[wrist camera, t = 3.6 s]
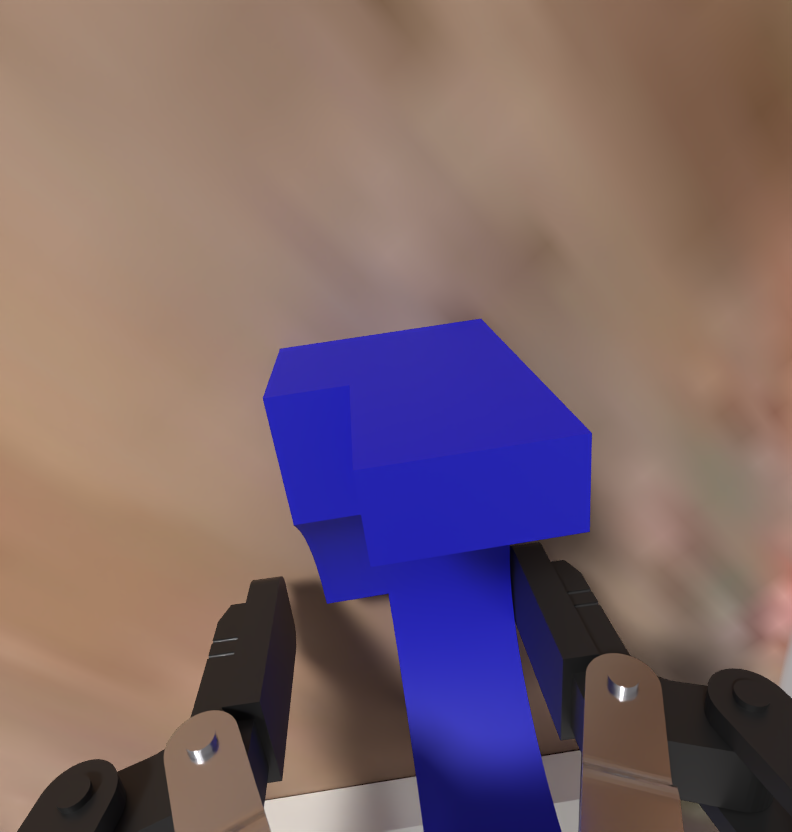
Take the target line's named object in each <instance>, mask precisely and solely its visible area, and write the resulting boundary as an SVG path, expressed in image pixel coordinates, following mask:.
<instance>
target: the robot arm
mask: <svg viewBox="0 0 792 832" xmlns="http://www.w3.org/2000/svg"><path fill="white" fill-rule="evenodd" d="M510 577H511V591H512V602H513V611H514V619H515V622H516V625H517V628H518V630H519V633H520V636H521V638H522V641H523V643H524V646H525V649H526V651H527V654H528V657H529V659H530V662H531V664H532V667H533V670H534V672H535V675H536V678H537V680H538V683H539V685H540V688H541V691H542V693H543V696H544V698H545V701H546V704H547V706H548V709H549V712H550V714H551V717H552V719H553V722H554V725H555V727H556V730H557V733H558V735H559V738H560V740H567V739H574V738H575V739H576V741H577V744H578V746H579V749H580V751H581V772H580V798H579V823H578V832H684V829H683V820H682V812H681V803H680V800H684V801H690V802H695V803H699V804H700V806H701V807H702V808H703V810H704V811H705V812H706V814H707V815H708V816H709V818H710V819H711V820H712V822H713V823H714V824H715V826H716V827H717V828H718V830H719V831H720V832H792V698H791V697H790V696H789V695H787V694H786V693H785V692H784V691H783V690H782V689H781V688H780V687H779V686H777V685H776V684H775V683H773V682H772V681H770V680H769V679H767V678H765V677H763V676H761V675H759V674H756V673H754V672H751V671H747V670H742V669H724V670H721V671H718V672H716V673H715V674H714V675H712V677H711V678H710V680H709V682H708V686H704V685H696V684H689V683H682V682H675V681H670V680H667V679H663V678H660V677H658V676H657V675H656V674H655V673H654V671H653V670H652V669H651V668H650V667H648V666H647V665H646V664H645V663H643V662H642V661H640V660H638V659H636V658H634V657H631V656H630V654H629V653H628V651H627V650H626V648H625V646H624V645H623V643H622V641H621V640H620V638H619V636H618V635H617V633H616V631H615V630H614V628H613V626H612V624H611V623H610V621H609V619H608V618H607V616H606V614H605V613H604V611H603V609H602V608H601V606H600V605H598V601H597V599H596V598H595V596H594V594H593V593H592V592H591V591H590V588H589V586H588V584H587V582H586V581H585V579H584V577H583V576H582V574H581V573H580V572H579V571H578V570H576V569H575V568H574V567H573V566H571V565H570V564H569V563H567V562H566V561H565V560H562V561H554V562H550V560H549V558H548V556H547V554H546V553H545V551H544V549H543V547H542V545H541V544H540V543H539V542H537V543H530V544H523V545H515V546H510ZM295 654H296V631H295V624H294V619H293V615H292V610H291V606H290V602H289V597H288V593H287V589H286V584H285V581H284V578H283V577H282V576H281V577H274V578H267V579H259V580H253V581H252V582H251V584H250V588H249V592H248V596H247V601H246V603H242V604H235V605H231V606H230V607H229V609H228V610H227V611H226V613H225V614H224V615H223V616H222V618H221V619H220V620H219V622H218V624H217V628H216V631H215V635H214V638H213V644H212V645H211V649H210V652H209V659H207V663H206V666H205V670H204V673H203V677H202V680H201V684H200V687H199V691H198V694H197V697H196V701H195V704H194V708H193V711H192V715H191V717H190V718H189V719H188V720H187V721H185V722H184V723H183V724H181V725H180V726H179V727H178V728H177V729H176V731H175V732H174V733H173V734H172V736H171V737H170V739H169V741H168V743H167V745H166V748H165V749H164V750H162V751H161V752H159V753H158V754H156V755H154V756H152V757H150V758H148V759H145V760H143V761H141V762H139V763H136V764H134V765H132V766H130V767H127V768H125V769H123V770H120V771H118V772H117V771H116V768H115V767H114V766H113V764H111V763H110V762H108V761H105V760H100V759H95V760H89V761H85V762H82V763H79V764H77V765H75V766H73V767H71V768H69V769H68V770H66V771H65V772H63V773H62V774H61V775H59V776H58V777H57V778H56V779H55V780H54V781H52V782H51V783H50V785H49V786H48V787H47V788H46V789H45V790H44V792H43V793H42V794H41V796H40V797H39V799H38V800H37V802H36V803H35V805H34V807H33V808H32V810H31V811H30V813H29V814H28V816H27V817H26V819H25V820H24V822H23V823H22V825H21V826H20V828H19V830H18V831H17V832H271V830H270V826H269V823H268V820H267V817H266V813H265V810H264V803H265V795H266V788H267V783H271V782H277V781H282V777H283V768H284V758H285V749H286V739H287V730H288V720H289V711H290V702H291V692H292V683H293V673H294V664H295Z"/></svg>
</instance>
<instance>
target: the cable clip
mask: <svg viewBox="0 0 792 832" xmlns="http://www.w3.org/2000/svg"><path fill="white" fill-rule="evenodd" d="M263 401H264V405H265V409H266V413H267V417H268V421H269V425H270V430H271V434H272V438H273V442H274V446H275V450H276V454H277V458H278V462H279V466H280V470H281V474H282V479H283V483H284V487H285V491H286V495H287V499H288V503H289V507H290V511H291V515H292V519H293V523H294V526H296V527H297V528H298V529H299V530H300V532H301V533H302V535H303V536H304V538H305V539H306V541H307V543H308V545H309V547H310V550H311V552H312V555H313V557H314V560H315V563H316V566H317V569H318V572H319V576H320V579H321V582H322V586H323V590H324V594H325V598H326V602H327V604H328V603H334V602H340V601H346V600H352V599H359V598H365V597H371V596H377V595H383V594H389V600H390V606H391V612H392V618H393V624H394V630H395V637H396V643H397V649H398V656H399V662H400V669H401V675H402V682H403V689H404V695H405V702H406V709H407V716H408V723H409V730H410V737H411V744H412V751H413V758H414V765H415V772H416V779H417V786H418V794H419V801H420V808H421V816H422V823H423V830H424V832H562V831H561V828H560V825H559V821H558V818H557V814H556V811H555V807H554V803H553V800H552V796H551V793H550V789H549V785H548V781H547V777H546V774H545V770H544V766H543V762H542V758H541V754H540V750H539V746H538V742H537V737H536V733H535V729H534V724H533V720H532V715H531V711H530V706H529V701H528V696H527V691H526V686H525V681H524V676H523V670H522V665H521V659H520V653H519V647H518V641H517V634H516V627H515V619H514V611H513V602H512V591H511V577H510V545H511V544H517V543H524V542H530V541H536V540H542V539H548V538H554V537H561V536H567V535H573V534H579V533H585V532H590V492H591V447H592V433H591V432H590V431H589V430H588V429H587V428H586V427H585V426H584V425H583V423H582V422H581V421H580V420H579V419H578V418H577V417H576V416H575V415H574V414H573V413H572V412H571V411H570V410H569V409H568V408H567V407H566V406H565V405H564V404H563V403H562V402H561V401H560V400H559V399H558V398H557V397H556V396H555V395H554V394H553V393H552V392H551V390H550V389H549V388H548V387H547V386H546V385H545V384H544V383H543V382H542V381H541V380H540V379H539V378H538V377H537V376H536V375H535V374H534V373H533V372H532V371H531V370H530V369H529V368H528V367H527V366H526V365H525V364H524V363H523V362H522V361H521V360H520V359H519V357H518V356H517V355H516V354H515V353H514V352H513V351H512V350H511V349H510V348H509V347H508V346H507V345H506V344H505V343H504V342H503V341H502V340H501V339H500V338H499V337H498V336H497V335H496V334H495V333H494V332H493V331H492V330H491V329H490V328H489V327H488V326H487V325H486V323H485V322H484V321H483V320H482V319H476V320H470V321H463V322H456V323H450V324H443V325H436V326H429V327H423V328H416V329H409V330H403V331H396V332H389V333H383V334H376V335H369V336H363V337H356V338H349V339H343V340H336V341H329V342H323V343H316V344H309V345H303V346H296V347H289V348H283V349H280V351H279V354H278V356H277V359H276V362H275V365H274V368H273V371H272V374H271V376H270V379H269V382H268V385H267V388H266V391H265V394H264V396H263Z"/></svg>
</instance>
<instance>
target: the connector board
mask: <svg viewBox="0 0 792 832" xmlns="http://www.w3.org/2000/svg"><path fill="white" fill-rule="evenodd" d="M541 758H542V762H543V766H544V770H545V774H546V777H547V781H548V785H549V789H550V793H551V796H552V800H553V803H554V807H555V811H556V814H557V818H558V821H559V825H560V828H561V831H562V832H578V823H579V798H580V772H581V751H580V750H578V751H572V752H566V753H560V754H553V755H547V756H541ZM264 810H265V813H266V817H267V820H268V823H269V826H270V830H271V832H424V830H423V823H422V816H421V808H420V801H419V794H418V786H417V779H416V777H410V778H403V779H397V780H391V781H385V782H378V783H372V784H366V785H360V786H353V787H347V788H341V789H335V790H328V791H322V792H316V793H310V794H303V795H297V796H291V797H285V798H278V799H272V800H266V801H265V803H264Z"/></svg>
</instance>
